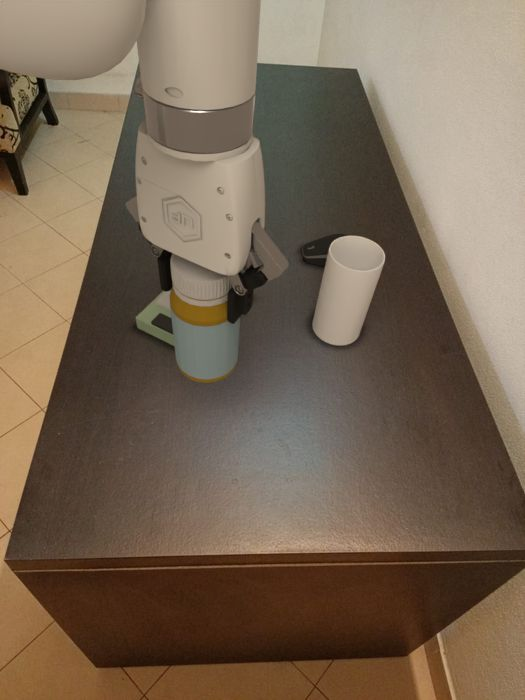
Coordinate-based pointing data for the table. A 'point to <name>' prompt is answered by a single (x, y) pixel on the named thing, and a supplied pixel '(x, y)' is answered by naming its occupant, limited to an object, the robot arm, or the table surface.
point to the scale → (157, 318)
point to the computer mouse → (319, 249)
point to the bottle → (202, 322)
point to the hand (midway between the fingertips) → (205, 297)
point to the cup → (347, 288)
